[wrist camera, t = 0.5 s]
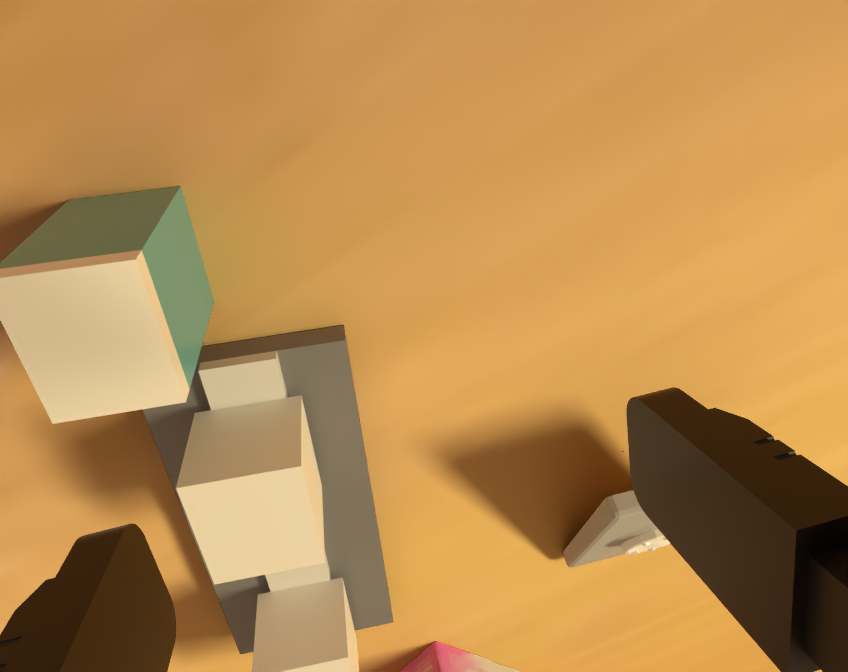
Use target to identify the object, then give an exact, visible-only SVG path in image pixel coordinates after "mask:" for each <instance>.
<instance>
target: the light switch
mask: <svg viewBox="0 0 848 672" xmlns="http://www.w3.org/2000/svg"><path fill="white" fill-rule="evenodd" d="M622 452H624V451H622ZM668 544H671V543H670V542H669V541H668V540H667V539H666V538H665V536H664V535H663V534H662V533H661V532H660V531H659V529H658V528H657V527H656V526H655V525H654V524H653V522H652V521H651V520H650V519H649V518H648V517H647V515H646V514H645V513H644V511H643V510H642V508H641V506H640V505H639V503H638V500H637V498H636V496H635V493H634V490H632V491H628V492H624V493H620V494H616V495H612V496H609V497H607V498H605V499H604V500H603V502H602V503H601V504H600V506H599V507H598V508H597V509H596V511H595V512H594V513H593V514H592V516H591V517H590V518H589V520H588V521H587V522H586V523H585V525H584V526H583V527H582V528H581V530H580V531H579V532H578V533H577V535H576V536H575V537H574V539H573V540H572V541H571V542H570V544H569V545H568V546H567V547H566V549H565V550H564V551H563V555H564V558H565V561H566V564H567V565H568V566H569V567H576V566H580V565H584V564H588V563H591V562H595V561H599V560H603V559H607V558H611V557H615V556H619V555H622V554H631V556H632V555H635V554H638V553H639V552H643V551H647V550H650V551H651V552H652V551H654V550H655V548H659V547H662V546H665V545H668Z"/></svg>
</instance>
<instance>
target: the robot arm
mask: <svg viewBox="0 0 848 672" xmlns="http://www.w3.org/2000/svg"><path fill="white" fill-rule="evenodd" d="M627 427H628V443H629V459H630V475H631V482H632V486H633V490H634V493H635V496H636V498H637V500H638V503H639V505H640V506H641V508H642V510H643V511H644V513H645V514H646V515H647V517H648V518H649V519H650V520H651V521H652V522H653V524H654V525H655V526H656V527H657V528H658V529H659V531H660V532H661V533H662V534H663V535H664V536H665V538H666V539H667V540H668V541H669V542H670V543H671V544H672V546H673V547H674V548H675V549H676V550H677V551H678V553H679V554H680V555H681V556H682V557H683V558H684V560H685V561H686V562H687V563H688V564H689V565H690V567H691V568H692V569H693V570H694V571H695V572H696V574H697V575H698V576H699V577H700V578H701V579H702V580H703V582H704V583H705V584H706V585H707V586H708V587H709V589H710V590H711V591H712V592H713V593H714V594H715V596H716V597H717V598H718V599H719V600H720V601H721V603H722V604H723V605H724V606H725V607H726V608H727V609H728V611H729V612H730V613H731V614H732V615H733V616H734V618H735V619H736V620H737V621H738V622H739V623H740V625H741V626H742V627H743V628H744V629H745V630H746V632H747V633H748V634H749V635H750V636H751V637H752V639H753V640H754V641H755V642H756V643H757V644H758V645H759V647H760V648H761V649H762V650H763V651H764V652H765V654H766V655H767V656H768V657H769V658H770V659H771V661H772V662H773V663H774V664H775V665H776V666H777V668H778V669H779V670H780V671H781V672H814V671H817V670H820V669H821V670H822V671H823V672H848V486H846V485H845V484H843V483H842V482H840V481H839V480H837V479H836V478H834V477H833V476H831V475H830V474H829V473H827V472H826V471H824V470H823V469H821V468H820V467H818V466H817V465H815V464H814V463H812V462H811V461H809V460H808V459H806V458H805V457H803V456H802V455H796V454H795V451H794V450H793V449H791V448H790V447H788V446H787V445H785V444H784V443H782V442H781V441H779V440H776V441H775V440H774V438H773V436H772V435H771V434H769V433H768V432H766V431H765V430H763V429H762V428H760V427H759V426H757V425H756V424H754V423H753V422H751V421H750V420H748V419H746V418H743V417H740V416H737V415H734V414H731V413H728V412H725V411H722V410H720V409H717V408H713V409H709V410H708V409H707V408H705V407H704V406H703V405H701V404H700V403H698V402H697V401H696V400H694V399H693V398H691V397H690V396H689V395H687V394H686V393H684V392H683V391H682V390H680V389H678V388H669V389H665V390H661V391H657V392H653V393H649V394H645V395H641V396H637V397H633V398H631V399H630V400H629V402H628V404H627ZM175 637H176V617H175V611H174V606H173V602H172V599H171V597H170V594H169V592H168V590H167V587H166V585H165V583H164V580H163V578H162V576H161V573H160V571H159V569H158V566H157V564H156V562H155V559H154V557H153V555H152V552H151V550H150V548H149V545H148V543H147V541H146V538H145V536H144V534H143V532H142V531H141V529H140V528H139V527H138V526H137V525H136V524H128V525H124V526H120V527H116V528H112V529H108V530H104V531H100V532H96V533H92V534H88V535H84V536H81V537H79V538H78V539H77V540H76V542H75V543H74V545H73V547H72V549H71V550H70V552H69V554H68V556H67V557H66V559H65V561H64V563H63V565H62V566H61V568H60V570H59V572H58V573H57V575H56V577H55V578H52V579H48V580H46V581H45V582H44V583H43V584H42V585H41V586H40V587H39V588H38V589H37V590H35V591H34V592H33V593H32V594H31V595H30V596H29V597H28V598H27V599H26V600H25V601H24V602H23V603H22V604H21V605H20V606H19V607H18V608H17V609H16V610H15V612H14V613H13V615H12V616H11V618H10V620H9V621H8V623H7V625H6V626H5V628H4V630H3V631H2V633H1V635H0V672H167V670H168V667H169V663H170V659H171V655H172V651H173V647H174V643H175Z"/></svg>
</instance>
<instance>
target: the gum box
mask: <svg viewBox="0 0 848 672" xmlns="http://www.w3.org/2000/svg"><path fill="white" fill-rule="evenodd" d="M400 672H522V671H519V670H516V669H514V668H511V667H507V666H504V665H501V664H498V663H495V662H493V661H491V660H488V659H486V658H483V657H480V656H477V655H475V654H472V653H468V652H465V651H462V650H460V649H457V648H454V647H451V646H449V645H446V644H443V643H440V642H433V643H432V644H431V645H429V646H428V647H427V648H426V649H425V650H424V651H423V652H422V653H421V654H420V655H419V656H417V657H416V658H415V659H414V660H412V661H411V662H410V663H409V664H408V665H407V666H406V667H405V668H403V669H402V670H401V671H400Z"/></svg>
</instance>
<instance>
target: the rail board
mask: <svg viewBox="0 0 848 672" xmlns="http://www.w3.org/2000/svg"><path fill="white" fill-rule="evenodd" d="M142 411H143V413H144V416H145V418H146V421H147V423H148V426H149V428H150V431H151V433H152V436H153V438H154V441H155V443H156V445H157V448H158V450H159V453H160V455H161V458H162V460H163V463H164V465H165V468H166V470H167V473H168V475H169V478H170V480H171V483H172V485H173V488H174V490H175V493H176V495H177V498H178V500H179V503H180V505H181V508H182V510H183V513H184V515H185V518H186V520H187V523H188V525H189V528H190V530H191V533H192V535H193V538H194V540H195V543H196V545H197V548H198V550H199V552H200V555H201V557H202V560H203V562H204V565H205V567H206V570H207V572H208V575H209V577H210V580H211V582H212V585H213V587H214V590H215V592H216V595H217V597H218V600H219V602H220V605H221V607H222V610H223V612H224V615H225V617H226V620H227V622H228V625H229V627H230V630H231V632H232V635H233V637H234V640H235V642H236V645H237V647H238V650H239V652H240V654H244V653H249V652H253V666H252V672H359V664H358V652H357V640H356V634H355V630H359V629H364V628H368V627H373V626H378V625H383V624H387V623H392V622H393V616H392V609H391V602H390V596H389V590H388V584H387V578H386V572H385V567H384V561H383V555H382V549H381V543H380V537H379V531H378V525H377V519H376V513H375V507H374V501H373V495H372V490H371V484H370V478H369V472H368V466H367V460H366V454H365V448H364V442H363V436H362V430H361V424H360V418H359V412H358V407H357V401H356V395H355V389H354V383H353V377H352V371H351V365H350V359H349V353H348V347H347V341H346V335H345V330H344V325H340V326H333V327H327V328H320V329H314V330H307V331H301V332H294V333H288V334H281V335H275V336H268V337H261V338H255V339H248V340H242V341H235V342H229V343H222V344H216V345H209V346H203V347H201V350H200V354H199V358H198V361H197V365H196V368H195V372H194V375H193V379H192V383H191V386H190V390H189V393H188V397H187V400H186V402H185V403H178V404H172V405H166V406H160V407H154V408H148V409H142Z"/></svg>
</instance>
